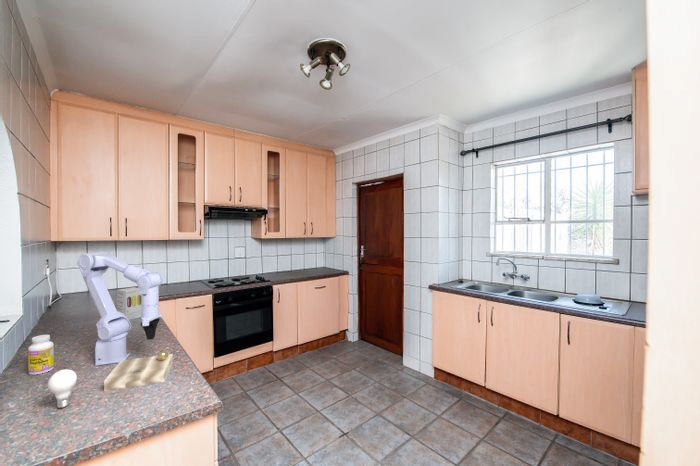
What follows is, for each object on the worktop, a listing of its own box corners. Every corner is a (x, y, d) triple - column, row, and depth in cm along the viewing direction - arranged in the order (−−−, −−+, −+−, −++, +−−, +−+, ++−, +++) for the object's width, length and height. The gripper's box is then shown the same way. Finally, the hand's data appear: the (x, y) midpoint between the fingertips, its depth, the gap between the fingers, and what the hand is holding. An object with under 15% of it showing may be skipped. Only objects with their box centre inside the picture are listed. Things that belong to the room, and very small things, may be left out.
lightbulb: (61, 401, 94) (60, 365, 94) (83, 400, 95) (82, 365, 94) (42, 414, 88) (41, 376, 88) (65, 413, 88) (65, 375, 88)
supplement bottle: (24, 377, 109) (23, 341, 109) (33, 369, 115) (32, 335, 115) (50, 373, 112) (49, 338, 112) (57, 365, 118) (56, 332, 118)
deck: (104, 391, 100) (103, 380, 100) (121, 369, 115) (120, 360, 115) (164, 382, 106) (164, 372, 106) (173, 362, 121) (172, 353, 121)
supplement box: (125, 321, 172) (125, 291, 172) (116, 318, 176) (115, 289, 176) (143, 316, 181) (143, 288, 181) (134, 314, 185) (133, 286, 185)
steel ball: (129, 372, 105) (131, 371, 108) (129, 383, 104) (132, 381, 107) (141, 369, 106) (143, 368, 109) (142, 380, 106) (144, 378, 109)
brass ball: (156, 362, 113) (156, 353, 113) (158, 358, 116) (158, 349, 116) (167, 361, 114) (167, 351, 114) (169, 357, 117) (168, 348, 117)
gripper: (157, 308, 115) (158, 344, 115) (165, 299, 128) (166, 331, 129) (135, 309, 112) (136, 346, 112) (145, 300, 126) (146, 333, 126)
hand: (150, 338), depth 120 cm, fingers closed
